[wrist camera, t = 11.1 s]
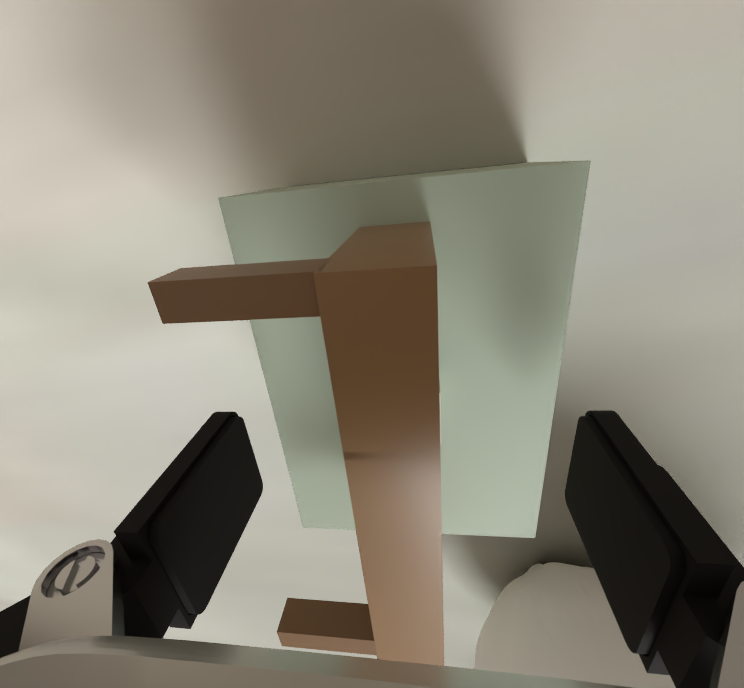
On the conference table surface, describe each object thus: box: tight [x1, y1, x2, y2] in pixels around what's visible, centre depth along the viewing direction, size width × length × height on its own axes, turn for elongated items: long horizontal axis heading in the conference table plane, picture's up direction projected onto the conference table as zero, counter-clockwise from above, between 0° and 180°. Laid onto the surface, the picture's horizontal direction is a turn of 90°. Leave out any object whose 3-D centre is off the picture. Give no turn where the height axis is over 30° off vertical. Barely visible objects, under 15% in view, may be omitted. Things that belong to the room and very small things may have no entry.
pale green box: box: [218, 161, 590, 538], centre depth 15 cm, size 14×10×7 cm
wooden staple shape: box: [148, 221, 444, 666], centre depth 11 cm, size 12×5×5 cm, turn 5°
